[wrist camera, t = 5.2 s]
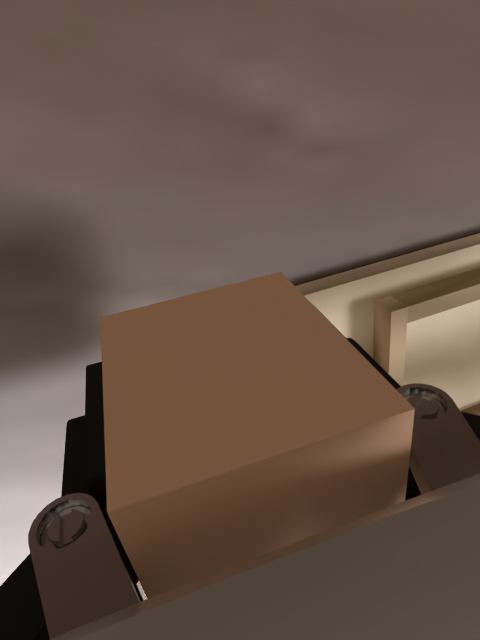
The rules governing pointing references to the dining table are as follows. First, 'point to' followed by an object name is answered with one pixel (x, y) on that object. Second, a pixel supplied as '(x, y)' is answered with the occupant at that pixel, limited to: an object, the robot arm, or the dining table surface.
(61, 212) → the dining table surface
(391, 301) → the housing base
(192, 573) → the jaw block
